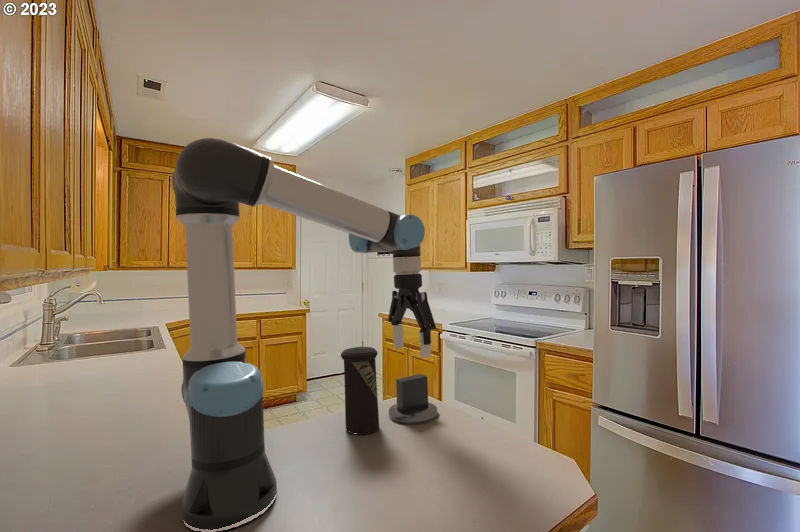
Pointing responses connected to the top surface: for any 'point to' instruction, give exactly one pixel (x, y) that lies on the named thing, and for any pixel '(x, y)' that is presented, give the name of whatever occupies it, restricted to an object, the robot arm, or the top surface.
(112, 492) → the top surface
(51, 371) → the top surface
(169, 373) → the top surface
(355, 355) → the container
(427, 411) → the lid
